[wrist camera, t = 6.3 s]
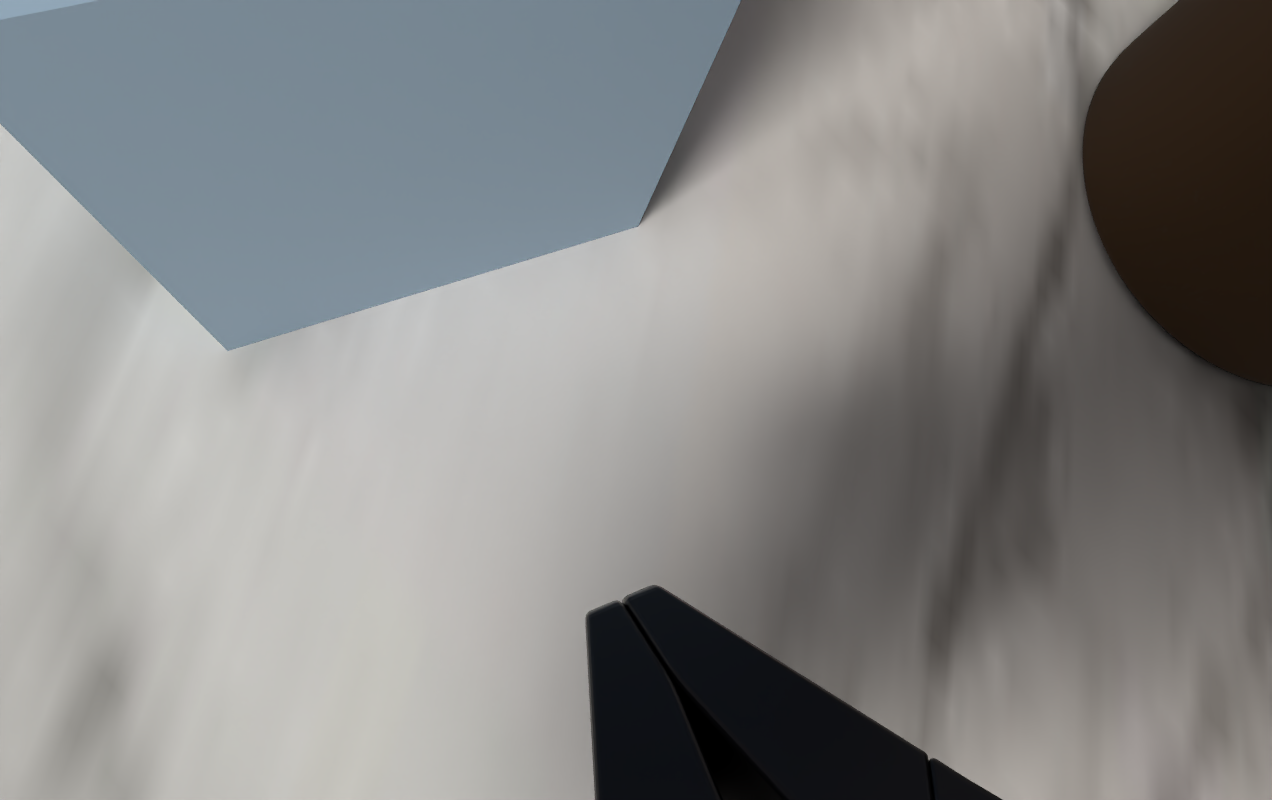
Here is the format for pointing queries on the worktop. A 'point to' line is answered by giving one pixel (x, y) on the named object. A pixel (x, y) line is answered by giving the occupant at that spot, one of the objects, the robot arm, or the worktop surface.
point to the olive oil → (1192, 177)
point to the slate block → (350, 136)
